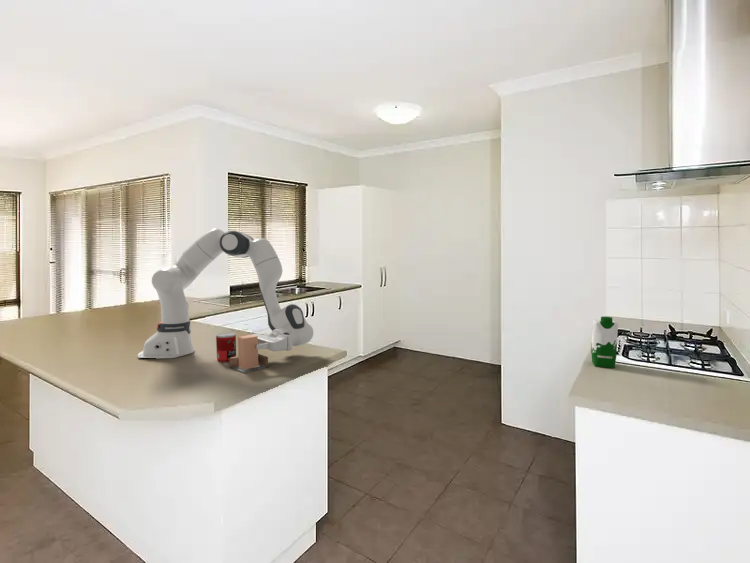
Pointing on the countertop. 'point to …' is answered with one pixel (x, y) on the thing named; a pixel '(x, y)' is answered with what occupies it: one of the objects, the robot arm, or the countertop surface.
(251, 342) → the terracotta block
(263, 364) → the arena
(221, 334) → the canned food
